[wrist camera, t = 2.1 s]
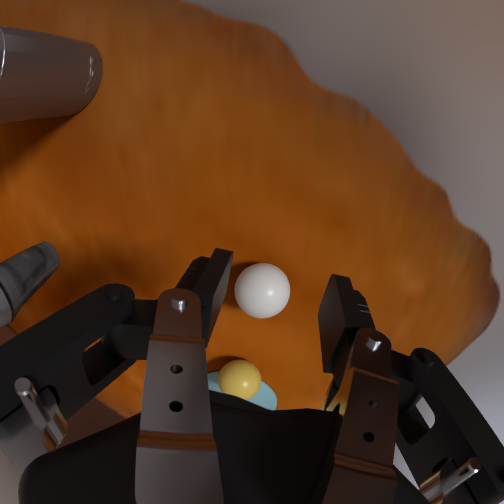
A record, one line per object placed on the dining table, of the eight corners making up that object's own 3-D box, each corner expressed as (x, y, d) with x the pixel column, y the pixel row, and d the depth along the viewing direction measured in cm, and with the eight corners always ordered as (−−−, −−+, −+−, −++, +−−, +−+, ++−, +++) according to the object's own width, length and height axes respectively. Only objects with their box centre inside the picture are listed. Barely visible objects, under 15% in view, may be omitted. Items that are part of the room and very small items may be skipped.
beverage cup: (45, 222, 33) (-65, 296, 15) (74, 266, 35) (-26, 358, 17) (26, 247, 35) (-67, 317, 17) (52, 286, 37) (-33, 368, 19)
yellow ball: (220, 373, 39) (211, 403, 34) (225, 346, 37) (216, 377, 32) (258, 382, 39) (254, 412, 34) (267, 356, 37) (263, 387, 32)
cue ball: (235, 292, 33) (226, 322, 28) (243, 248, 31) (234, 273, 26) (283, 303, 33) (281, 334, 28) (295, 260, 31) (296, 287, 26)
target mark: (190, 410, 44) (190, 411, 44) (194, 361, 39) (194, 362, 39) (266, 427, 44) (266, 428, 44) (286, 381, 38) (286, 382, 38)
